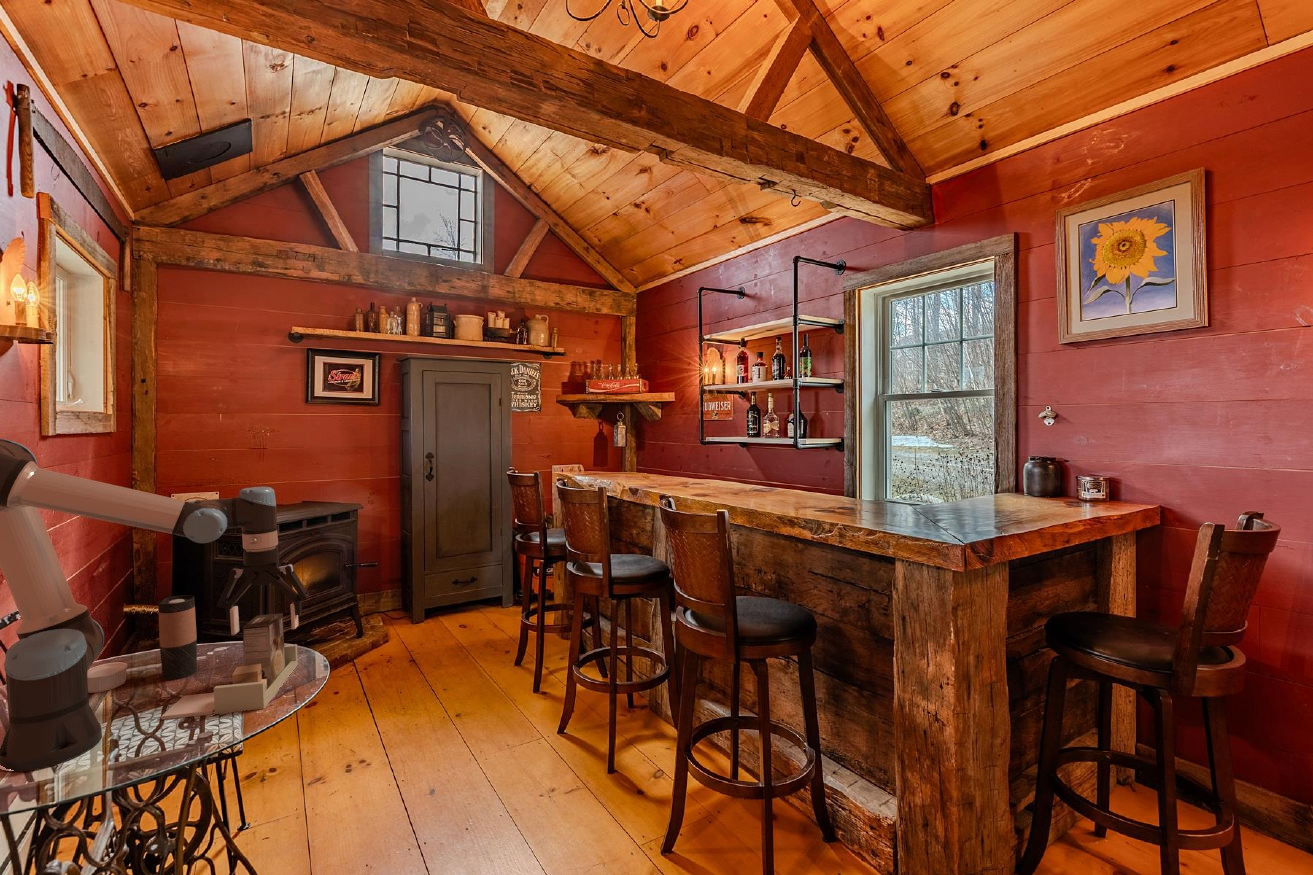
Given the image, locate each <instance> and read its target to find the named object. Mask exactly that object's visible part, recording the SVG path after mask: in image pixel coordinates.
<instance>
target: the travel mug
mask: <svg viewBox="0 0 1313 875" xmlns="http://www.w3.org/2000/svg"><path fill="white" fill-rule="evenodd" d="M195 603H196V601H195V596H194V595H191V594H188V595H187V594H182V595H175V596H170V597H165V598H164V599H162V601H161V602H157V607H158V630H159V631H158V635H159V650H160V652H159V653H160V664H161V672H162V673H161V674H162V679H163V680H165V681H174V680H175V681H176V680H181V679H184V678H188V677H190V676H192V675H194V674H195V673H196V672H197V670H198V659H197V658H198V656H197V654H198V653H197V652H198V649H197V648H198V646H197V645H198V644H197V641H198V640H197V637H198V635H197V624H196V623H197V622H196V606H195Z"/></svg>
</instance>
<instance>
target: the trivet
mask: <svg viewBox="0 0 1313 875" xmlns="http://www.w3.org/2000/svg"><path fill="white" fill-rule="evenodd" d="M213 714H215V706H214V692H209V693H207V692H206V693H200V694H199V693H198V694H188V695H187V694H186V695H183V696H182V697H180V699H179V700H178V701H176V702H175V703H174V704H173V705H172V706H171V707H170V708H169V709H167V711H166V712H164V713H163V714H162V715H161V718H160V720H171V719H181V718H188V717H189V718H190V717H198V716H209V715H213Z"/></svg>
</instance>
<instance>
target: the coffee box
mask: <svg viewBox="0 0 1313 875" xmlns="http://www.w3.org/2000/svg"><path fill="white" fill-rule="evenodd" d="M241 629H242V647H243V649H242V650H243V666H249V665H256V664H261V672H262V679H267V689H268V688H269V687H270V686H271V684H272V683H273V682H274V681H275V680H276V678H277V677H278V676H279V675H280V674H281V672H282V671H283V670H284V669H285V652H284V645H285V635H284V634H285V631H284V613H274V614H273V613H270V614H269V613H268V614H259V615H255V617H253V618H252V619H251V620H250V621H248V622H247V623H246V624H245V625H244V626H243V627H242V628H241Z"/></svg>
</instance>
